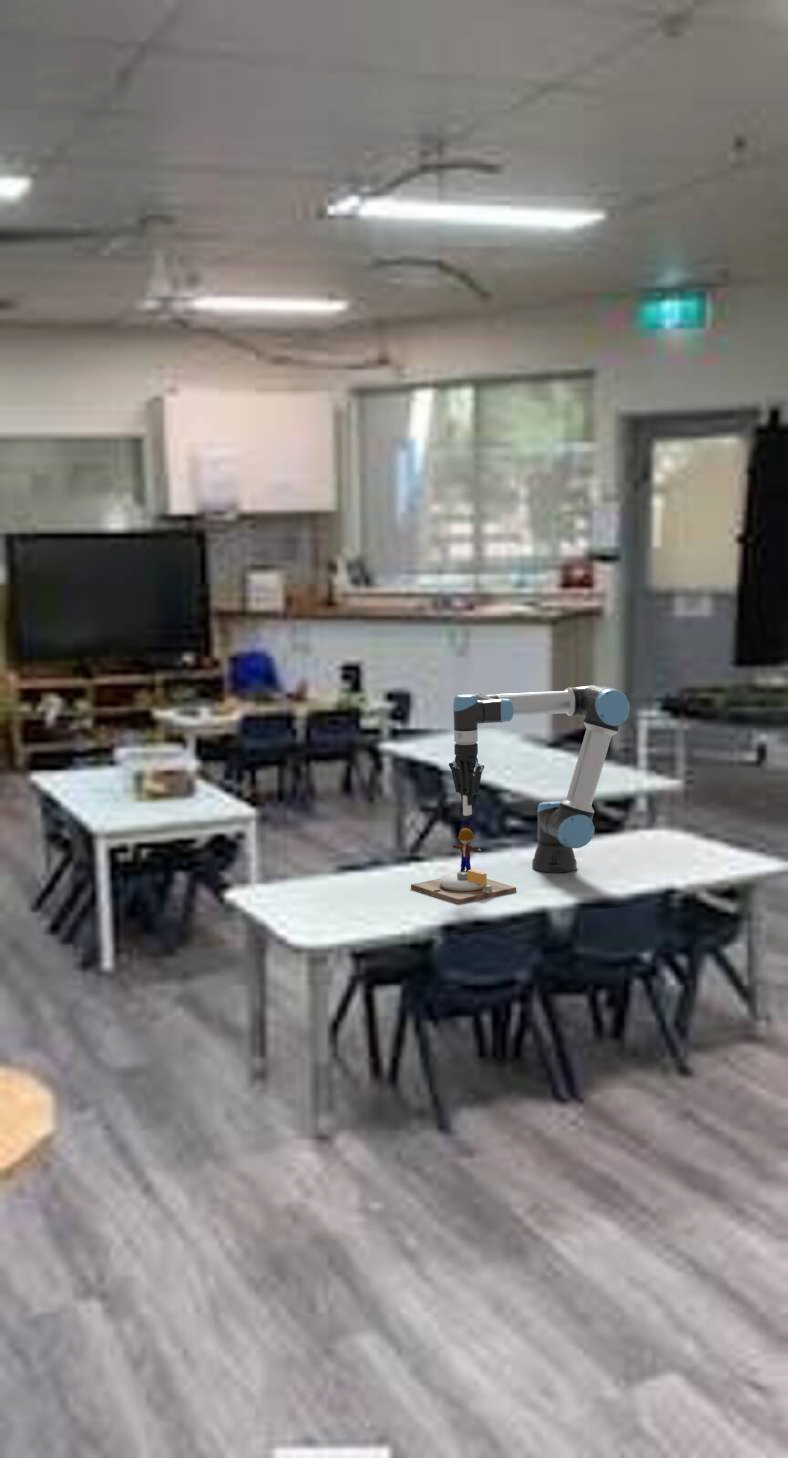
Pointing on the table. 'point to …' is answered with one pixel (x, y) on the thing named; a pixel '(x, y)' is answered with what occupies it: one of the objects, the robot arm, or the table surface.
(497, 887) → the board
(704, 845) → the table surface
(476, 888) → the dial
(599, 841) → the table surface
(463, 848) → the toy
